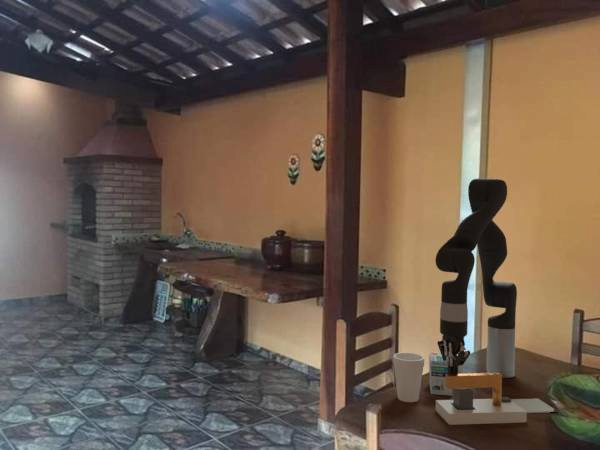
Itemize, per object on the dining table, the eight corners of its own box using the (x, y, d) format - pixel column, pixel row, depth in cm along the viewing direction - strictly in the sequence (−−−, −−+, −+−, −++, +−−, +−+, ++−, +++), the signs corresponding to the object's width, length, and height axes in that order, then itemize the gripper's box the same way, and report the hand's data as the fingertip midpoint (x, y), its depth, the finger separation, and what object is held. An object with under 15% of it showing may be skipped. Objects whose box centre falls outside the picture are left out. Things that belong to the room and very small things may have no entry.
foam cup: (405, 406, 147) (406, 362, 147) (386, 395, 155) (387, 354, 155) (430, 400, 152) (430, 358, 151) (410, 391, 160) (410, 351, 160)
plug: (453, 414, 141) (453, 386, 141) (466, 413, 142) (467, 386, 142) (458, 419, 137) (459, 391, 137) (472, 419, 138) (473, 391, 138)
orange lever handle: (444, 404, 140) (445, 373, 140) (498, 402, 142) (499, 372, 142) (448, 408, 137) (448, 376, 137) (503, 405, 139) (503, 374, 139)
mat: (507, 400, 152) (507, 399, 152) (537, 399, 153) (537, 398, 153) (524, 413, 142) (524, 412, 142) (557, 412, 143) (557, 411, 143)
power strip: (435, 410, 144) (435, 397, 144) (507, 408, 146) (508, 395, 146) (449, 424, 134) (449, 410, 134) (526, 422, 136) (526, 408, 136)
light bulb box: (452, 396, 156) (452, 362, 156) (430, 394, 157) (430, 360, 157) (449, 385, 166) (449, 353, 166) (428, 383, 168) (428, 351, 167)
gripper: (479, 322, 136) (478, 384, 137) (451, 312, 149) (450, 370, 149) (456, 323, 134) (455, 387, 134) (429, 314, 147) (428, 372, 147)
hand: (452, 378), depth 142 cm, fingers closed
